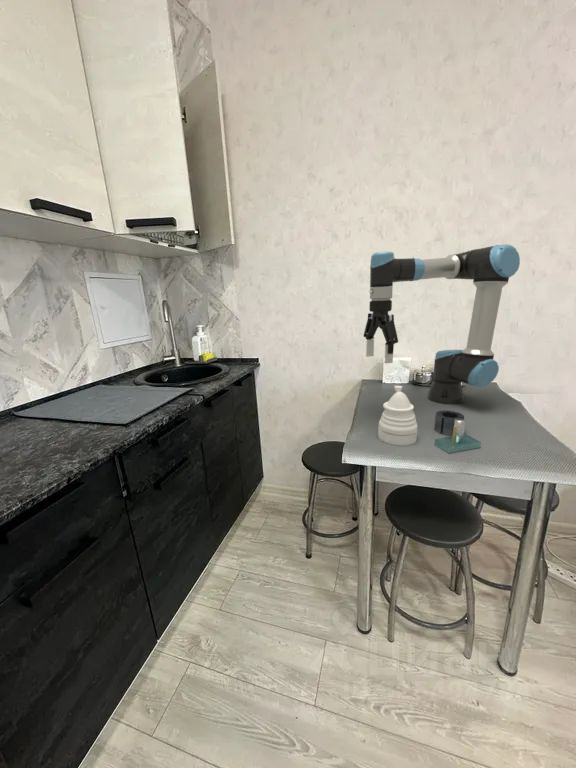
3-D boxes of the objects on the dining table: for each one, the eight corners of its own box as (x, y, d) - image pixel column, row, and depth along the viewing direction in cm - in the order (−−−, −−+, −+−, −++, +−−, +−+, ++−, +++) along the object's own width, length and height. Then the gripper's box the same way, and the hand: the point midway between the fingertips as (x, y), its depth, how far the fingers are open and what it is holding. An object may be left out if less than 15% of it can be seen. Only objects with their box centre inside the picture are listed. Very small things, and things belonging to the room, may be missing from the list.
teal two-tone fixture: (464, 439, 107) (467, 414, 104) (480, 447, 101) (483, 421, 98) (434, 444, 104) (436, 419, 102) (448, 453, 98) (451, 426, 96)
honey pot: (374, 430, 117) (376, 383, 112) (409, 429, 117) (412, 382, 112) (383, 445, 105) (385, 394, 100) (422, 445, 104) (426, 393, 99)
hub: (449, 424, 119) (451, 409, 118) (468, 433, 111) (470, 417, 109) (429, 427, 117) (430, 412, 116) (446, 437, 109) (448, 421, 107)
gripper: (355, 300, 121) (354, 354, 126) (390, 300, 97) (387, 367, 103) (373, 299, 122) (371, 353, 128) (411, 299, 99) (407, 365, 105)
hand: (378, 359), depth 116 cm, fingers open, 13 cm apart
